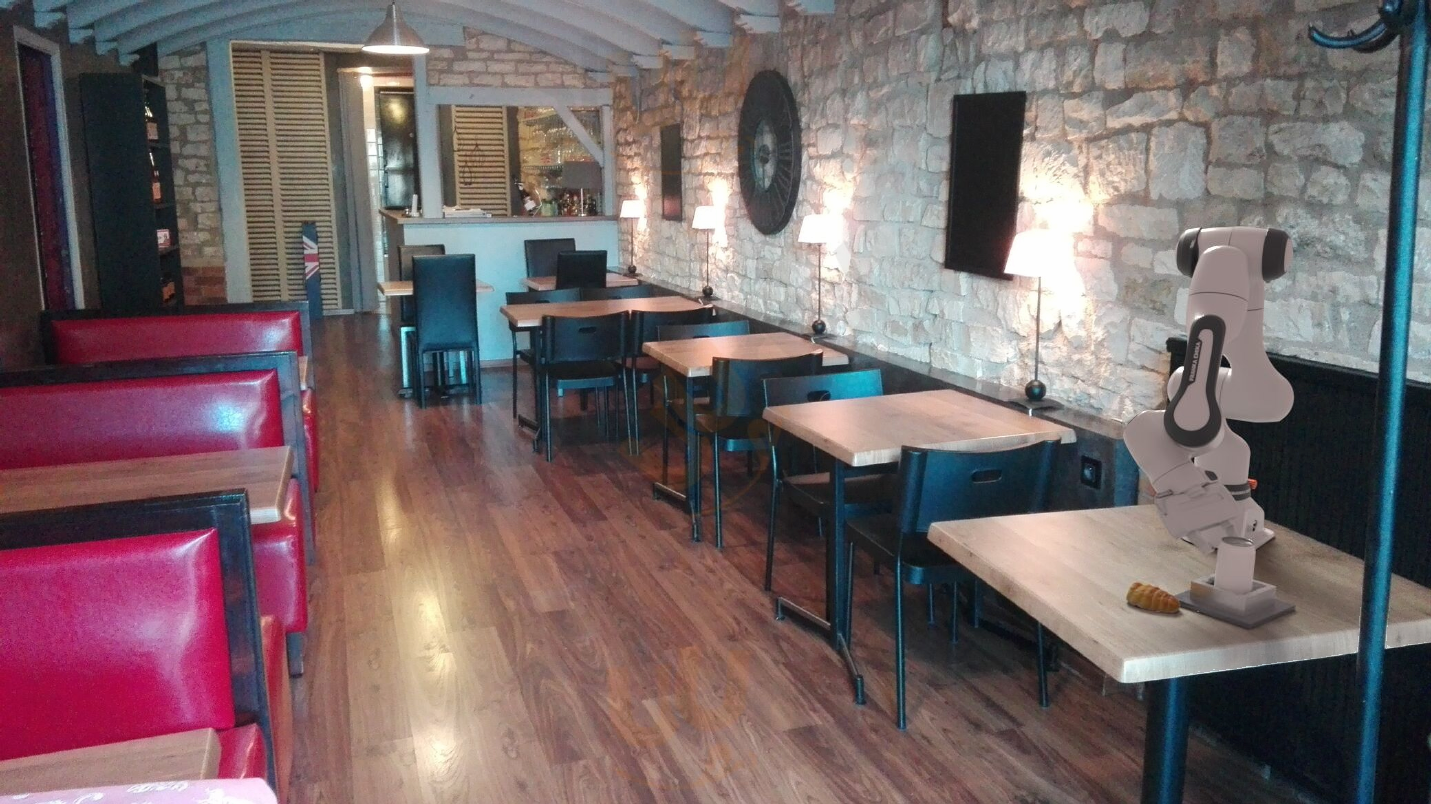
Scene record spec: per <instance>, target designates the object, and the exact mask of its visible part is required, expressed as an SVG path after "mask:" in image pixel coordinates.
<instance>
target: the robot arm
mask: <svg viewBox="0 0 1431 804" xmlns="http://www.w3.org/2000/svg"><path fill="white" fill-rule="evenodd" d="M1174 249H1175V250H1174V259H1175V264H1176V269H1177V270H1178V271H1179V272H1180V273H1181V274H1182V275H1183V276H1185V277H1188V278H1190V279H1191V281H1190V285H1189V290H1188V296H1187V301H1186V310H1185V311H1186V312H1185V326H1186V328H1185V329H1186V337H1187V338H1186V340H1187V344H1186V345H1187V346H1186V352H1185V359H1184V363H1183V366H1179V367H1178V368H1177V369H1175V370H1174V371H1173V373H1171V376H1170V377H1169V379H1168V383H1167V388H1166V390H1167V397H1168V399H1169V401H1170V402H1169V403H1168V405H1167V406H1166V408H1165V409H1163V410H1162V409H1161V410H1158V409H1157V410H1155V409H1154V410H1153V409H1146V410H1143V411H1141V412H1139V413H1138V414H1136V415H1134V417H1132V418H1131V420H1129V421H1128V422H1127V425H1126V426H1125V428H1124V429H1123V433H1122V436H1123V437H1122V438H1123V442H1124V444H1125V446H1126V448H1127V450H1128V451H1129V453H1130V455H1131V456H1132V458H1133V459H1134V461H1135V463H1136V464H1137V465H1138V468H1139V469H1141V470H1142V471H1143V472H1144V473H1145V474H1146V476H1147V477H1148V479H1149V482H1150V485H1151V486H1152V487H1153V489H1154V490H1155V492H1156V493H1155V494H1154V498H1153V499H1154V501H1153V503H1154V505H1155V506H1156V513H1157V515H1158V517H1159V519H1160V520H1161V521H1160V522H1161V523H1162V524H1163V527H1164V528H1165V530H1166V531H1167V533H1168V535H1169V536H1170V537H1172V538H1173V539H1174V540H1180V539H1183V540H1185V541H1187V542H1189V543H1192V544H1193V545H1194V546H1196V547H1197V548H1199V549H1200V551H1201V553H1202V554H1203V555H1204V556H1207V555H1210V554H1212V553H1213V552H1215V550H1216V549H1218V546H1219V544H1220V543H1221V541H1222V540H1221V539H1222V538H1223V537H1227V536H1235V537H1242V538H1246V539H1249V540H1251V541H1253V542H1254V548H1255V551H1256V550H1257V549H1258V548H1260V547H1262V546H1263V545H1264V544H1266V543H1267V542H1269V541H1270V540H1271V539H1273V538H1274V537H1275V532H1274V531H1273V530H1271V529H1269V528H1266V527H1264V525H1265V511H1264V510H1263V508H1262V507H1261V506H1260V505H1258V503H1257V502H1256V501H1255V500H1254V499H1253V498H1252V497H1251V496H1252V495H1251V494H1252V493H1251V490H1252V489H1253V490H1255V489H1256V487H1258V486H1257V485H1258V482H1257V480H1256V479H1250V478H1248V477H1249V470H1250V469H1249V468H1250V462H1251V461H1250V460H1251V459H1250V458H1251V450H1250V446H1249V445H1248V443H1247V441H1245V440H1244V439H1243V438H1242V437H1241V436H1239V435H1238V434H1236V433H1235V432H1233V431H1232V430H1231V428H1230V426H1229V425H1228V423H1227V420H1226V419H1229V420H1230V419H1231V420H1237V421H1244V422H1251V423H1275V422H1280V421H1282V420H1283V419H1284V418H1285V417H1286V416H1287V415H1288V414H1289V413H1290V411H1291V410H1292V408H1293V405H1294V402H1295V401H1294V400H1295V395H1294V389H1293V387H1292V385H1291V383H1290V382H1289V381H1288V379H1287V378H1285V377H1284V376H1283V375H1282V374H1281V372H1279V371H1277V369H1276V368H1275V367H1274V365H1273V364H1272V363H1271V361H1270V359H1269V357H1268V355H1267V353H1266V348H1265V346H1264V333H1263V331H1264V330H1263V329H1264V326H1263V325H1264V310H1265V283H1266V284H1270V283H1271V282H1272V281H1276V280H1278V279H1280V278H1282V277H1283V276H1284V275H1285V274H1286V273H1287V272H1288V269H1289V267H1290V265H1291V263H1292V261H1293V257H1294V248H1293V244H1292V241H1291V237H1290V235H1289V234H1288V233H1287V232H1286V231H1284V230H1282V229H1278V228H1273V227H1269V228H1263V227H1255V226H1254V227H1253V226H1244V225H1243V226H1241V225H1238V226H1237V225H1235V226H1225V227H1224V226H1223V227H1222V226H1221V227H1220V226H1219V227H1209V228H1203V227H1202V226H1201V227H1194V228H1191V229H1186V230H1185V231H1184V232H1182V234H1181V235H1180V237H1179V240H1178V242H1177V243H1176V245H1175V248H1174ZM1223 356H1224V357H1225V358H1226V360H1227V361H1228V363H1229V364H1230V365H1229V366H1230V367H1223V366H1221V364H1222V363H1221V362H1222V359H1223ZM1193 458H1194V462H1193V460H1192V459H1193Z"/></svg>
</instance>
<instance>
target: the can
mask: <svg viewBox="0 0 1431 804" xmlns="http://www.w3.org/2000/svg"><path fill="white" fill-rule="evenodd" d="M1221 540H1222V541H1221V543H1220V544H1219V546H1218V548H1217V554H1216V563H1215V572H1214V573H1215V581H1214V586H1216V587H1219V588H1222V589H1225V590H1229V591H1232V592H1235V593H1238V594H1241V595H1245V594H1247V593H1250V592H1252V583H1253V579H1254V573H1255V565H1256V564H1255V563H1256V550H1255V548H1254V542H1253V541H1251V540H1249V539H1246V538H1242V537H1235V536H1227V537H1223V538H1222V539H1221Z"/></svg>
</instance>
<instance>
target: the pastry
mask: <svg viewBox="0 0 1431 804" xmlns="http://www.w3.org/2000/svg"><path fill="white" fill-rule="evenodd" d="M1125 600H1126V601H1127V602H1128V603H1129V604H1130V605H1131V606H1134V607H1135V606H1137V607H1139V608H1140V609H1142V608H1143V610H1146V609H1150V610H1149V611H1151V610H1153V611H1152V612H1156V611H1159V612H1158V613H1161V612H1163V614H1174V613H1176V612H1178V611H1179V610H1180V607H1182V606H1181V603H1180V602H1179V601H1178V600H1177V599H1176V598H1175V597H1174V595H1172V594H1170V593H1168V591H1166V590H1163V589H1161V588H1160V587H1159V586H1153V585H1151V584H1149V583H1147V584H1143V583H1142V582H1139V581H1135V582H1133V583H1132V585H1131V586H1130V587H1129V588H1128V592H1127V594H1126V598H1125Z"/></svg>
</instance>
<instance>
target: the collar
mask: <svg viewBox="0 0 1431 804" xmlns="http://www.w3.org/2000/svg"><path fill="white" fill-rule="evenodd" d="M1214 581H1215V572H1212V573H1210V574H1207V575H1204V576H1202V577H1199V578H1196V579H1193V580H1191V581H1190V588H1189V589H1188V590H1185V591H1182V592H1180V593H1177V594H1175V595H1173V596H1174V597H1175V598H1176V599H1177V600H1178V601H1179V602H1180V603H1181V606H1180V607H1182V608H1184V607H1185V609H1187V608H1188V610H1190V609H1192V610H1191V611H1193V610H1194V612H1196V611H1199V612H1201V613H1200V614H1202V613H1204V614H1203V615H1205V614H1206V616H1208V615H1209V616H1208V617H1211V616H1212V618H1214V619H1217V620H1220V621H1223V622H1226V623H1229V624H1232V625H1235V626H1238V627H1242V628H1244V629H1247V630H1252V629H1255V628H1257V627H1259V626H1261V624H1262V625H1263V624H1266V623H1268V622H1270V620H1271V621H1273V620H1276V619H1277V618H1280V617H1282V615H1283V616H1284V614H1285V613H1287V614H1289V613H1288V612H1290V611H1292V612H1294V611H1295V610H1296V605H1295V604H1292V603H1289V602H1286V601H1283V600H1280V599H1277V598H1276V595H1277V586H1276V585H1273V584H1271V583H1268V582H1267V583H1266V582H1263V581H1261V580H1260V581H1259V580H1257V579H1254V578H1253V583H1252V592H1250V593H1247V594H1245V595H1241V594H1238V593H1235V592H1232V591H1229V590H1225V589H1222V588H1219V587H1216V586H1214ZM1293 610H1294V611H1293ZM1199 612H1198V613H1199ZM1290 613H1291V612H1290ZM1285 615H1286V614H1285ZM1275 618H1276V619H1275Z"/></svg>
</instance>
